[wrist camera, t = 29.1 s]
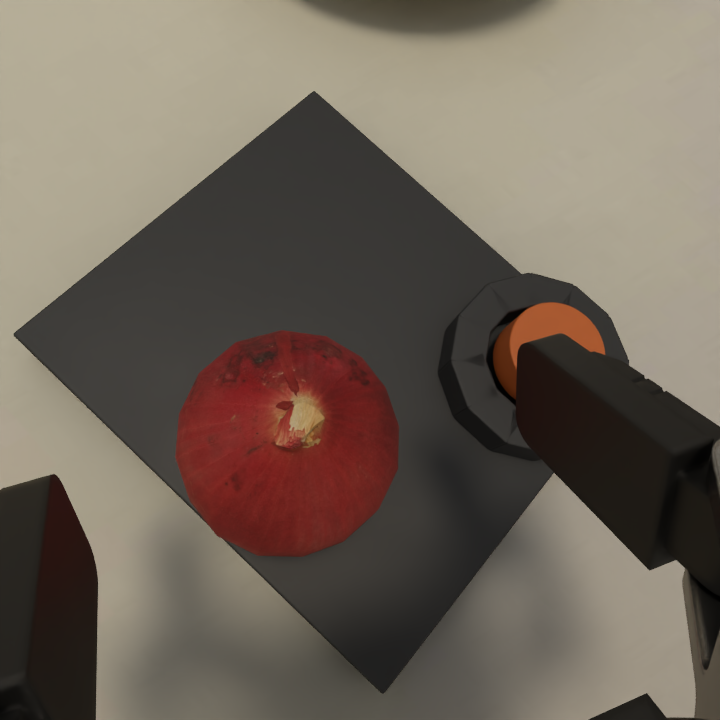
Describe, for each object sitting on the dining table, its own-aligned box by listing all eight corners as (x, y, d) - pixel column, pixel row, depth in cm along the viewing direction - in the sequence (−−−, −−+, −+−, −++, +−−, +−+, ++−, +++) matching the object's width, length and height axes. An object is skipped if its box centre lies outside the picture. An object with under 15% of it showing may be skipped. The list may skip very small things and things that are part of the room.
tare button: (599, 362, 22) (624, 349, 20) (546, 429, 21) (568, 420, 19) (529, 299, 22) (549, 282, 20) (473, 363, 21) (489, 349, 19)
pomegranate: (169, 400, 20) (117, 314, 13) (338, 350, 22) (383, 246, 14) (221, 581, 19) (198, 606, 11) (397, 516, 20) (481, 500, 13)
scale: (606, 383, 25) (660, 359, 22) (373, 683, 21) (395, 709, 17) (310, 120, 26) (319, 58, 23) (31, 351, 22) (-9, 316, 19)
